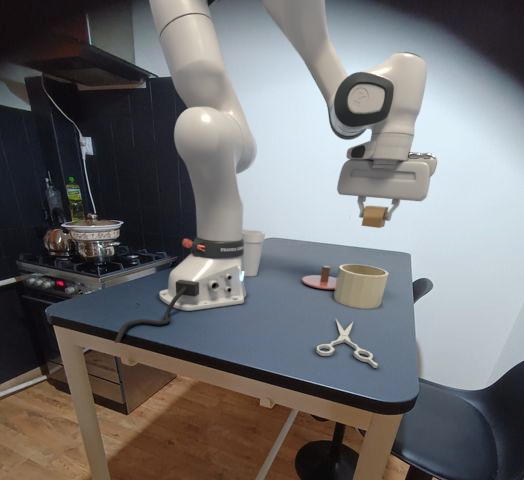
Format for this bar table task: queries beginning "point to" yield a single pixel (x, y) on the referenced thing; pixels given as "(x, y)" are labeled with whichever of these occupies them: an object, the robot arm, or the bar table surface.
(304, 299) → the bar table surface
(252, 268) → the foam cup
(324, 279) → the lid
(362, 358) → the scissors
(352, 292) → the pot
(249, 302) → the bar table surface
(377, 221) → the block
